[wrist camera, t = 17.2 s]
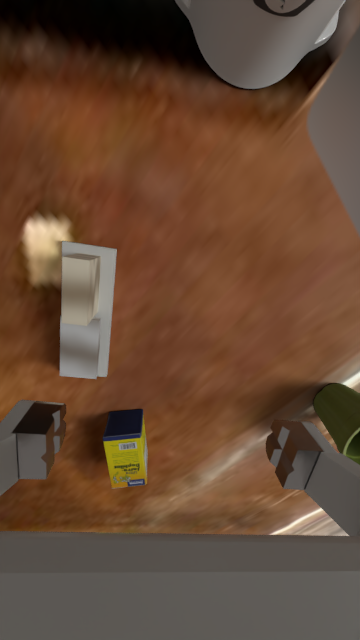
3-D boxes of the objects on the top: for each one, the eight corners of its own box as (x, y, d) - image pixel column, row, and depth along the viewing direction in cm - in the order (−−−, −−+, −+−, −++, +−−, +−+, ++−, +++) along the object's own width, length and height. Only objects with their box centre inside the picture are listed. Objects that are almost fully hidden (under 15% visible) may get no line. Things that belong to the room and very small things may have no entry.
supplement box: (101, 437, 38) (111, 489, 42) (141, 433, 38) (147, 485, 42) (108, 411, 44) (116, 459, 47) (143, 408, 44) (148, 456, 48)
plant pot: (313, 434, 49) (355, 489, 39) (291, 391, 45) (332, 439, 35) (369, 407, 48) (429, 456, 38) (352, 360, 44) (413, 399, 34)
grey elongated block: (70, 251, 34) (52, 255, 28) (108, 257, 34) (98, 261, 29) (68, 363, 39) (53, 385, 33) (101, 366, 40) (91, 388, 34)
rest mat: (64, 240, 34) (62, 241, 33) (116, 249, 35) (115, 249, 34) (63, 369, 40) (60, 372, 40) (107, 373, 41) (106, 376, 40)
